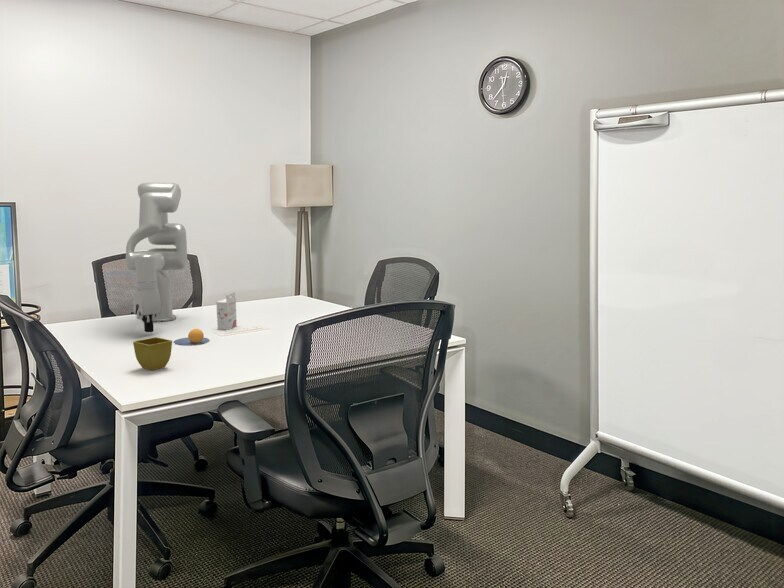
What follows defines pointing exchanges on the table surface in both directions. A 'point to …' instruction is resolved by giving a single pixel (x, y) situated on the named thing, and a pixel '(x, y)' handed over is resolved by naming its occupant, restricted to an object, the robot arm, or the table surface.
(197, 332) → the ball
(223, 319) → the ink cartridge box
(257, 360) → the table surface
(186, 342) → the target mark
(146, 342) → the flower pot
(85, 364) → the table surface
